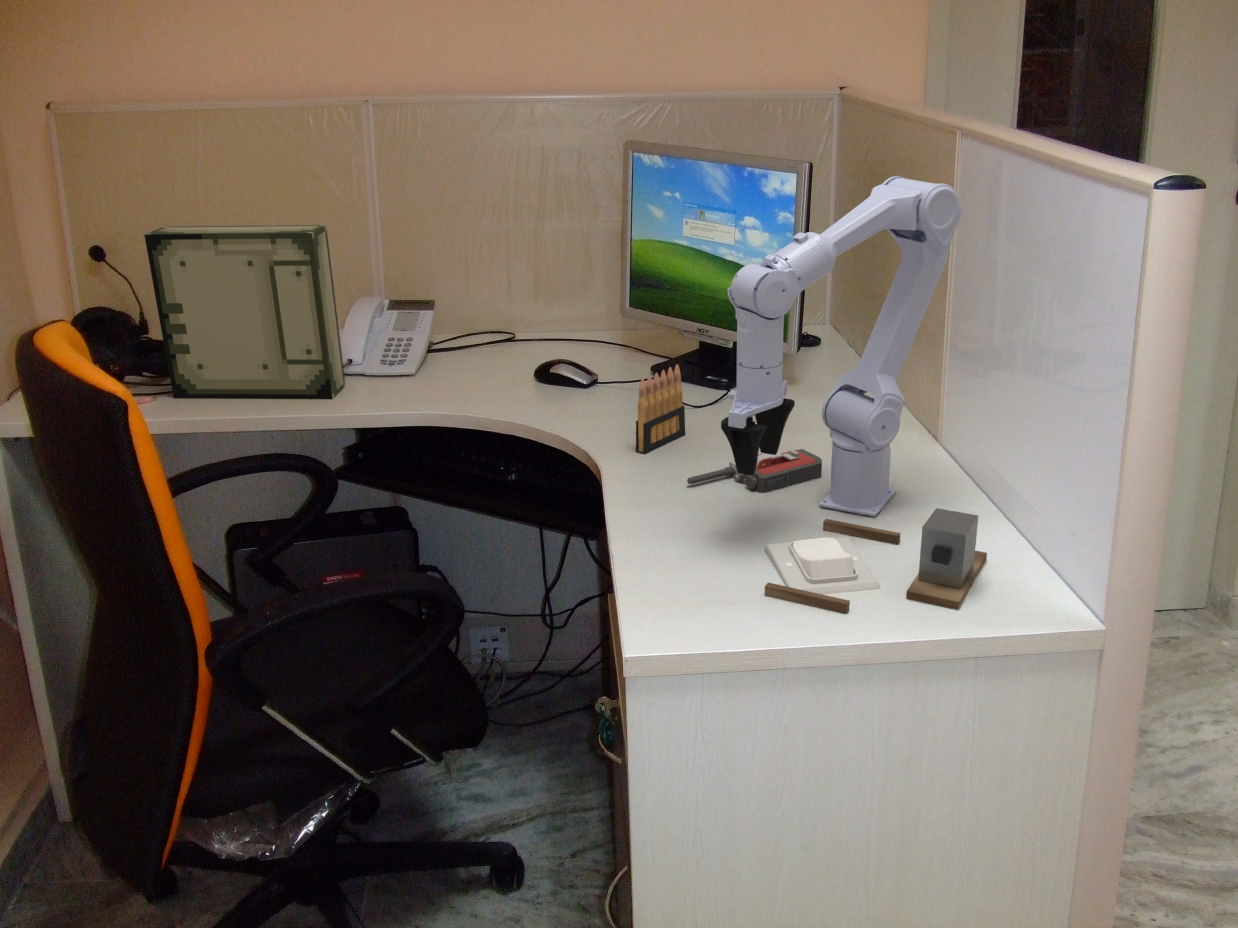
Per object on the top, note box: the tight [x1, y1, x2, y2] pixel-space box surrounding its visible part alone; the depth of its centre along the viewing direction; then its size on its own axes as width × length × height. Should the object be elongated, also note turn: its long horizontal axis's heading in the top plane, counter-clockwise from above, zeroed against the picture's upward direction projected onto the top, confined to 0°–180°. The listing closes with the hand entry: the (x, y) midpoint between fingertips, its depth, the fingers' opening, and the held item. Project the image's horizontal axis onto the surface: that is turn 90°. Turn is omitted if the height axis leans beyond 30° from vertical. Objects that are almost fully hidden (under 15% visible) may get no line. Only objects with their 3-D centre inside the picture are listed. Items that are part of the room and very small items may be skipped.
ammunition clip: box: [635, 363, 686, 455], centre depth 181 cm, size 11×2×12 cm, turn 140°
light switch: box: [764, 536, 881, 595], centre depth 141 cm, size 11×4×13 cm
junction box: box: [918, 507, 979, 590], centre depth 136 cm, size 7×5×7 cm
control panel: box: [144, 224, 346, 400], centre depth 208 cm, size 30×8×30 cm, turn 84°
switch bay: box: [764, 518, 901, 614], centre depth 142 cm, size 21×10×1 cm, turn 151°
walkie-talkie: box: [686, 448, 823, 494], centre depth 167 cm, size 9×4×20 cm
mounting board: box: [905, 550, 988, 611], centre depth 138 cm, size 14×6×1 cm, turn 151°
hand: (757, 463), depth 149 cm, fingers open, 7 cm apart
